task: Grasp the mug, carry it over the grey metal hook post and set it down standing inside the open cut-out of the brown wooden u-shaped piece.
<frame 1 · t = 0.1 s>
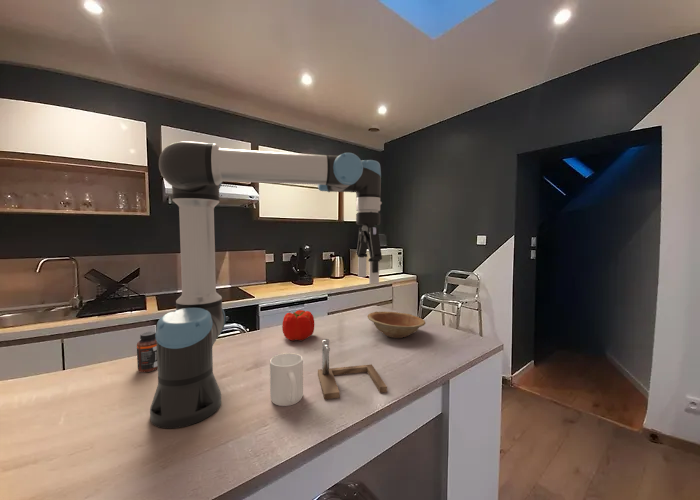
hand: (367, 279, 96), 28 cm above the counter, fingers open, 13 cm apart
brown wooden u-shaped piece: (350, 382, 87), on the counter
mug: (288, 402, 77), on the counter
supplement bottle: (149, 369, 95), on the counter
bowl: (395, 335, 127), on the counter
red lobed round piece: (298, 338, 123), on the counter
hook post: (325, 378, 89), resting on brown wooden u-shaped piece
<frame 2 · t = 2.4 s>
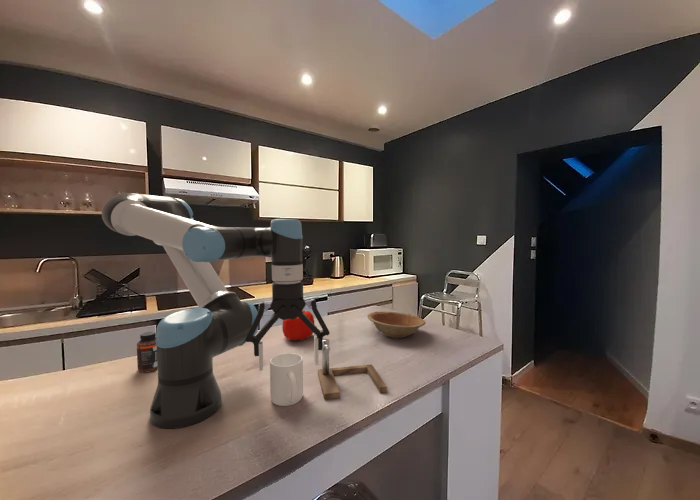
hand: (289, 365, 77), 10 cm above the counter, fingers open, 13 cm apart
nothing on the counter moved.
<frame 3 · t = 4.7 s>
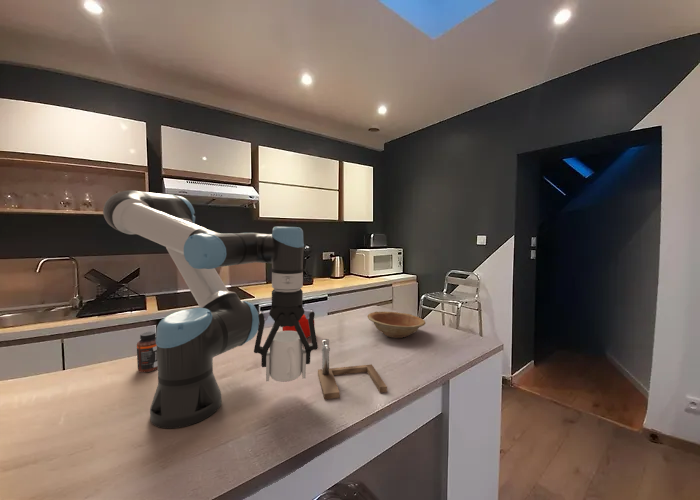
hand: (285, 377, 77), 6 cm above the counter, fingers closed on mug, 8 cm apart
mug: (287, 378, 77), point 6 cm above the counter, touching gripper
everything else where it was.
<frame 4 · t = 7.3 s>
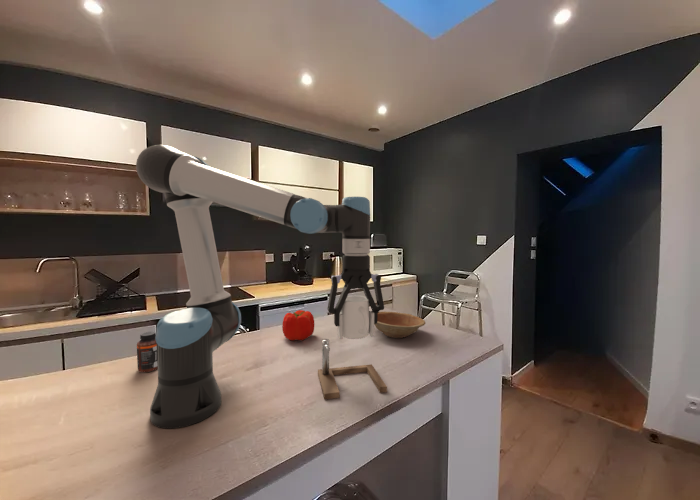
hand: (356, 336, 84), 14 cm above the counter, fingers closed on mug, 8 cm apart
mug: (357, 337, 84), point 14 cm above the counter, touching gripper
everything else where it was.
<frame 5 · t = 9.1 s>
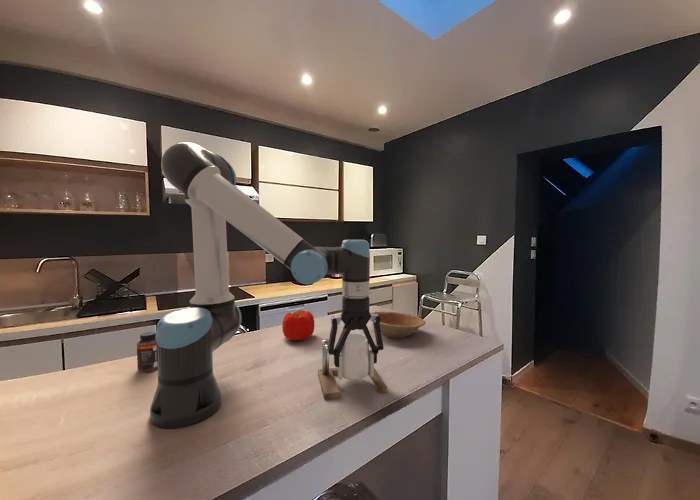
hand: (355, 375, 85), 3 cm above the counter, fingers closed on mug, 8 cm apart
mug: (356, 377, 85), point 2 cm above the counter, touching gripper
everything else where it was.
when the fingers open (2 cm above the counter, at t = 10.1 s): mug drops 2 cm, on the counter.
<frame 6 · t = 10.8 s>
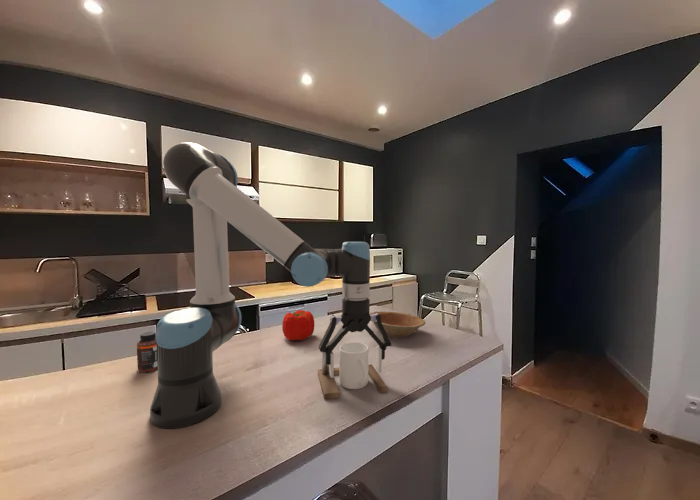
hand: (355, 372, 85), 4 cm above the counter, fingers open, 13 cm apart
mug: (356, 386, 85), on the counter
everything else where it was.
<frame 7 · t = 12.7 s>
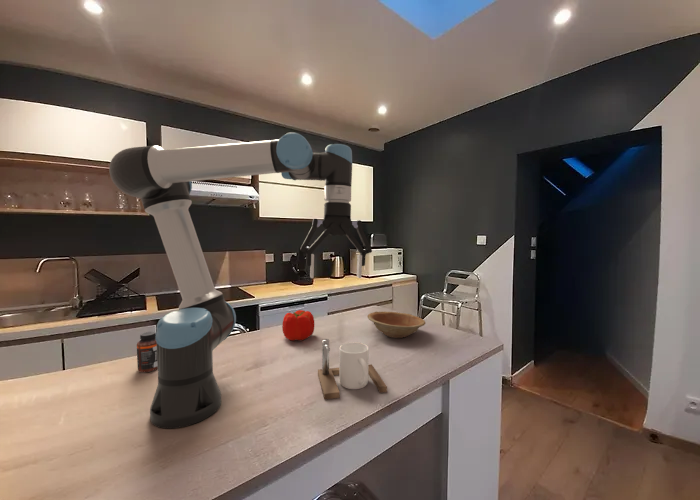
hand: (335, 277, 87), 30 cm above the counter, fingers open, 13 cm apart
nothing on the counter moved.
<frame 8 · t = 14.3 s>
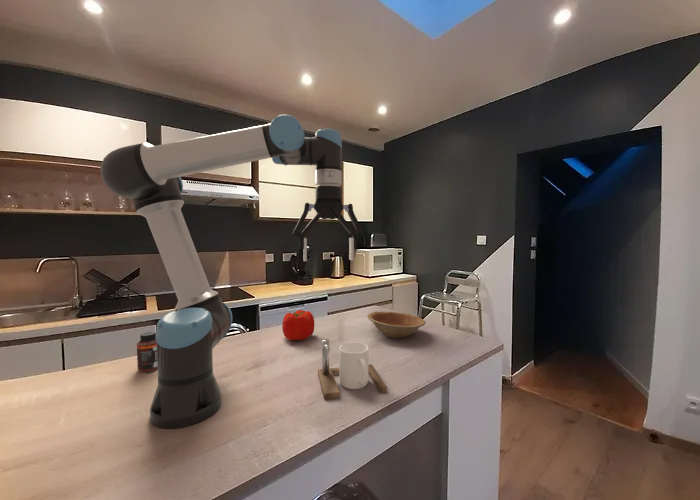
hand: (328, 260, 88), 35 cm above the counter, fingers open, 13 cm apart
nothing on the counter moved.
at the end: mug inside the target area (0.4 cm from its centre), on the counter; mug tilted 0°; the gripper is holding nothing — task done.
